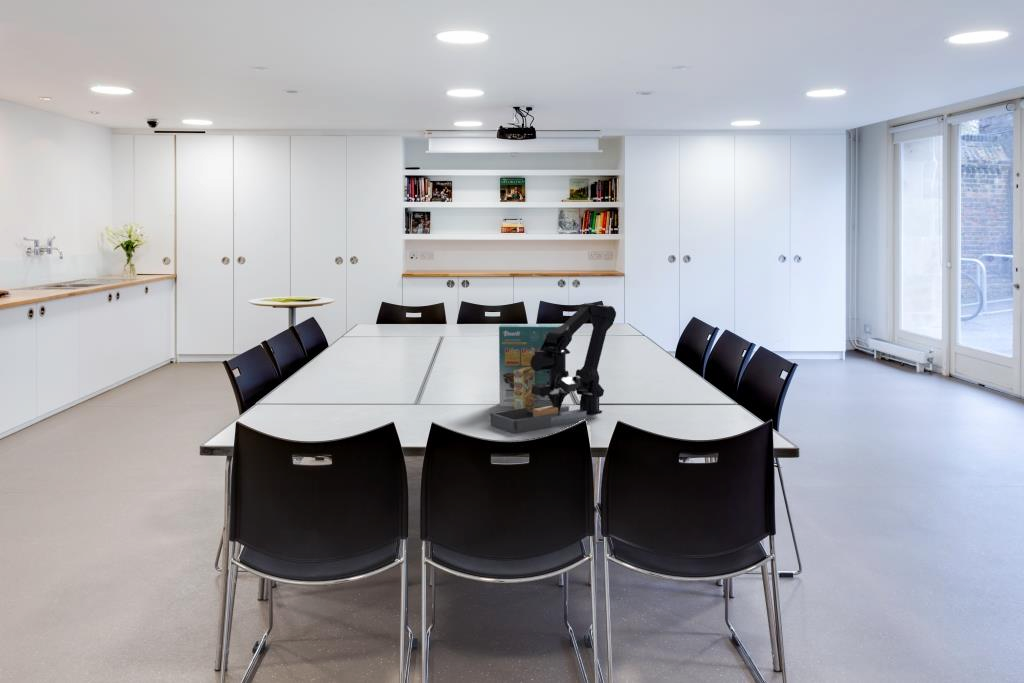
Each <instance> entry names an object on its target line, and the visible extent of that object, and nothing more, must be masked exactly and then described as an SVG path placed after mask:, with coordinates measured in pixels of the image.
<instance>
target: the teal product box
mask: <svg viewBox="0 0 1024 683" xmlns="http://www.w3.org/2000/svg"><path fill="white" fill-rule="evenodd" d="M559 326H560V325H559V324H500V325H499V326H498V353H499V354H498V356H499V357H498V360H499V361H498V364H499V366H498V367H499V370H498V372H499V407H515V406H514V370H517V369H519V368H522V367H531V364H530V360H531V358H532V356H533V355H535V351H540V349H541V347H542V345H543V343H544V341H545V339H546V335H547V334H548V332H550V331H551V330H553V329H554V328H557V327H559ZM550 348H552V347H550ZM548 370H549V369H548ZM534 377H535V385H545V386H549V385H547V382H549V373H547V370H542V371H534ZM548 406H553V405H552V402H551V400H550V399H549V397H548V395H546V396H539V395H535V408H542V407H548Z"/></svg>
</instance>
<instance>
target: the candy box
mask: <svg viewBox="0 0 1024 683" xmlns="http://www.w3.org/2000/svg"><path fill="white" fill-rule="evenodd" d="M534 385H535V377H534V370H533V369H532V367H522V368H519V369H517V370H514V406H513V407H514V409H520V408H528V410H533V409H536V407H535V394H532V390H531V389H532V387H533V386H534Z"/></svg>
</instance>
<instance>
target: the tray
mask: <svg viewBox="0 0 1024 683" xmlns="http://www.w3.org/2000/svg"><path fill="white" fill-rule="evenodd" d="M490 426H491V427H494V428H496V429H497V428H498V429H500V430H503V431H506V432H509V433H512V434H514V435H515V434H516V435H517V434H521V433H526V432H533V431H537V430H541V429H548V428H552V427H551V415H550V414H548V415H543V416H537V417H528V408H520V409H515V408H514V409H509V410H503V411H497V412H491V413H490Z"/></svg>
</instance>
